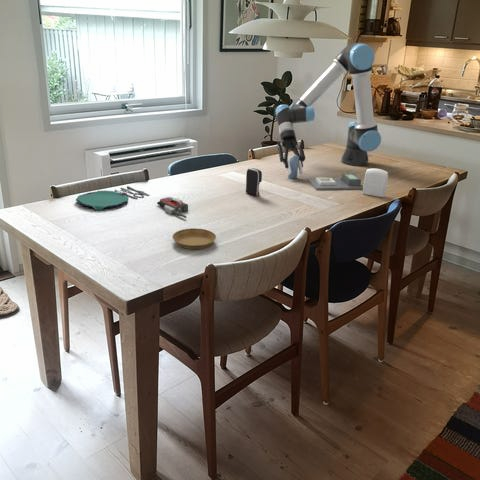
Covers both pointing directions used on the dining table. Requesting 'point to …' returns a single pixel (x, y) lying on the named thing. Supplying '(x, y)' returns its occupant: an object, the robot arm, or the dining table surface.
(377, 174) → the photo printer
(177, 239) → the plant saucer
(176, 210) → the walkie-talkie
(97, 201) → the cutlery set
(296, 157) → the cell
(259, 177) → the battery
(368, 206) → the dining table surface
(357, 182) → the cell checker
